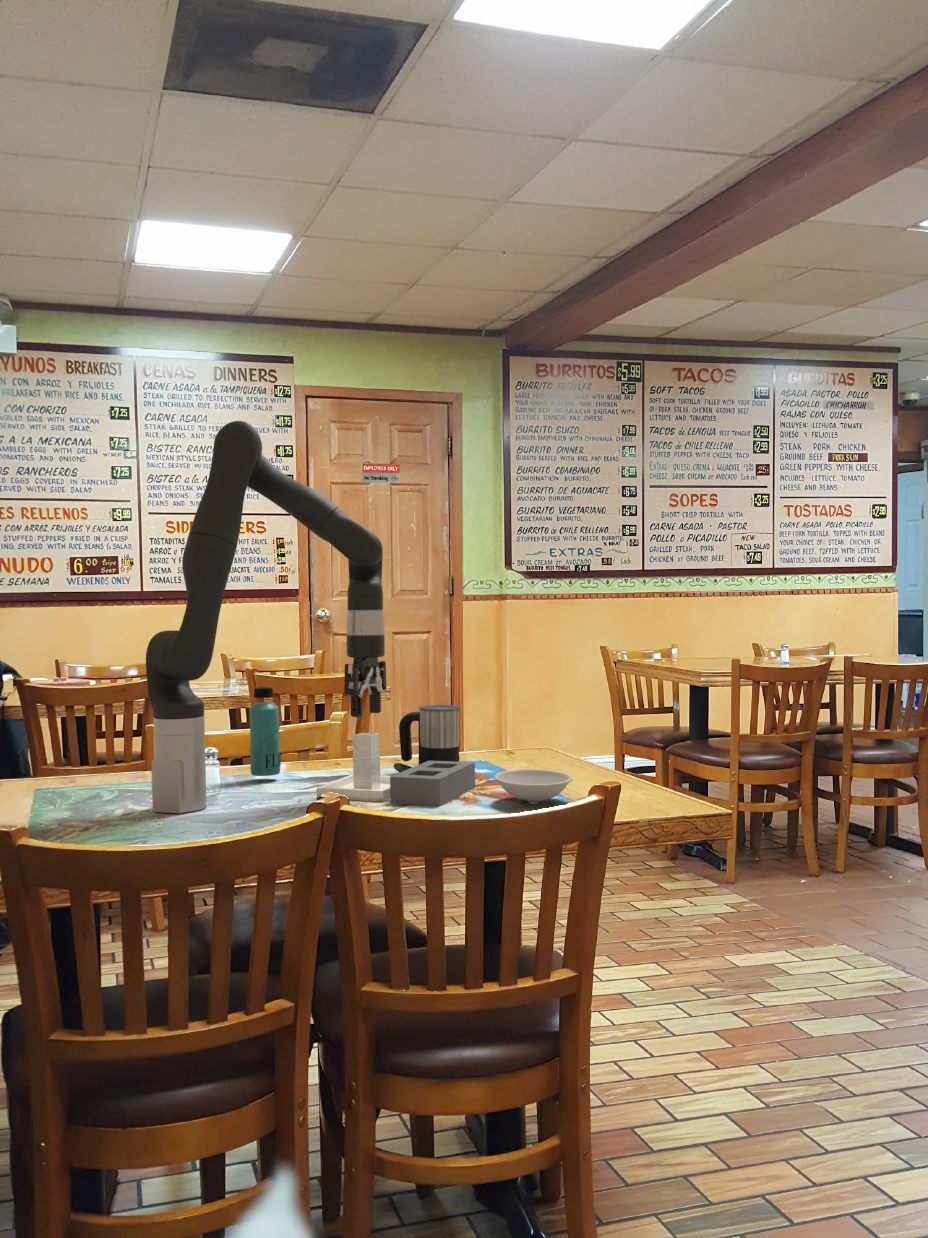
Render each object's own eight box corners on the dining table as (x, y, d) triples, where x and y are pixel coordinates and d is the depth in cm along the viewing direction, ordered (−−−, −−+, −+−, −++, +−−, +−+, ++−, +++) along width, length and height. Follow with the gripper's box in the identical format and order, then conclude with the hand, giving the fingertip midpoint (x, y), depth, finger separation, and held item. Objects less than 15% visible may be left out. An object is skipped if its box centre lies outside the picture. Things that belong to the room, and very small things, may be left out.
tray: (382, 801, 204) (382, 791, 204) (316, 798, 208) (316, 787, 208) (414, 786, 219) (414, 777, 219) (352, 783, 223) (352, 774, 223)
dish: (484, 797, 207) (484, 771, 207) (556, 792, 210) (555, 767, 210) (508, 815, 190) (508, 787, 190) (585, 810, 193) (585, 782, 193)
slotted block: (440, 806, 199) (439, 779, 199) (390, 803, 202) (390, 776, 202) (475, 787, 218) (474, 762, 217) (429, 784, 221) (428, 760, 221)
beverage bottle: (264, 784, 225) (262, 689, 224) (243, 781, 229) (241, 687, 228) (287, 779, 230) (285, 686, 229) (266, 776, 234) (264, 685, 233)
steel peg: (372, 791, 211) (371, 735, 211) (353, 790, 212) (352, 735, 212) (380, 788, 215) (379, 733, 214) (362, 787, 216) (361, 732, 216)
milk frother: (462, 770, 239) (461, 704, 238) (460, 783, 223) (458, 711, 222) (398, 771, 239) (397, 704, 239) (391, 783, 223) (390, 712, 223)
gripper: (367, 634, 204) (367, 719, 205) (397, 632, 218) (398, 712, 218) (331, 633, 207) (332, 717, 207) (364, 632, 220) (364, 711, 221)
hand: (366, 714), depth 213 cm, fingers open, 8 cm apart
